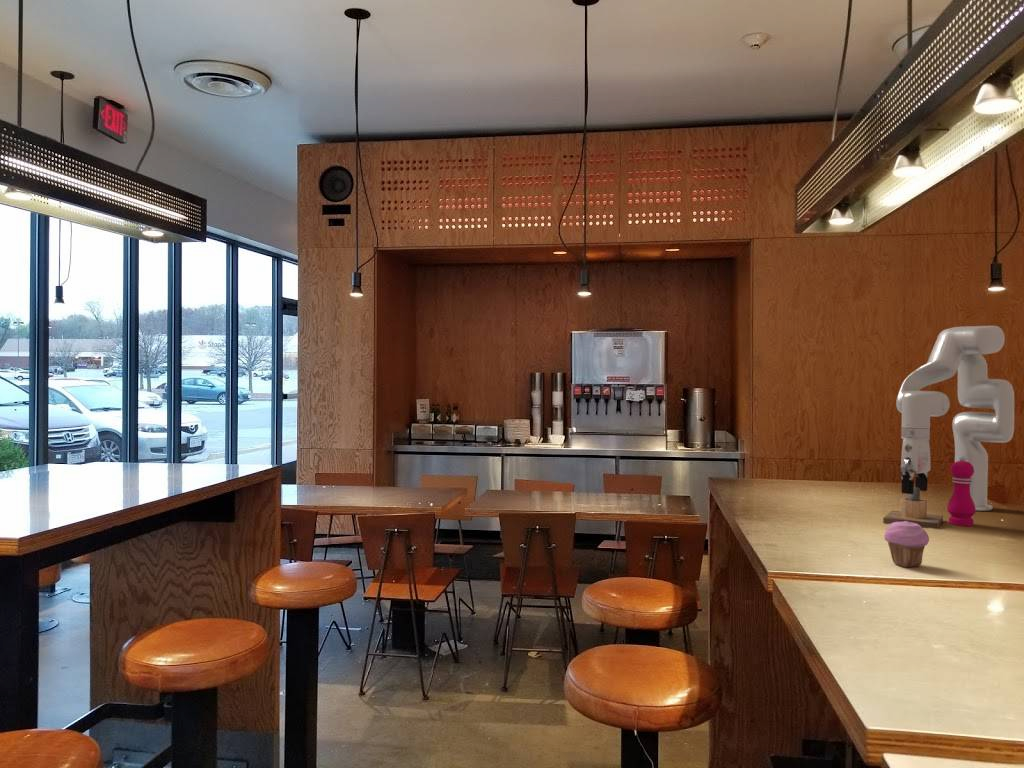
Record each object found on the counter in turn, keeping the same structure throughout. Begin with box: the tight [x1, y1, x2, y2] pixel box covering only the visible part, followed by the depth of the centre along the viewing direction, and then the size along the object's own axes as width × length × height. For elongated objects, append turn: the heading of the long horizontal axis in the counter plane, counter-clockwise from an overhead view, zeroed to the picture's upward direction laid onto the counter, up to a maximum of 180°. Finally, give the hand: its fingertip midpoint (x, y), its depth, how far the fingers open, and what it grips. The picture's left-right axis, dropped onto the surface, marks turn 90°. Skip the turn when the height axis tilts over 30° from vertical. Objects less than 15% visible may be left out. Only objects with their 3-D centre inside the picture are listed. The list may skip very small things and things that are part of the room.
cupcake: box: [884, 521, 930, 568], centre depth 183 cm, size 9×9×10 cm
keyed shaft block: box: [882, 486, 944, 529], centre depth 240 cm, size 16×14×10 cm
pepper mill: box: [946, 456, 977, 527], centre depth 237 cm, size 7×7×20 cm
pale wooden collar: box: [899, 497, 928, 519], centre depth 240 cm, size 7×7×5 cm
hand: (914, 491), depth 240 cm, fingers open, 9 cm apart
